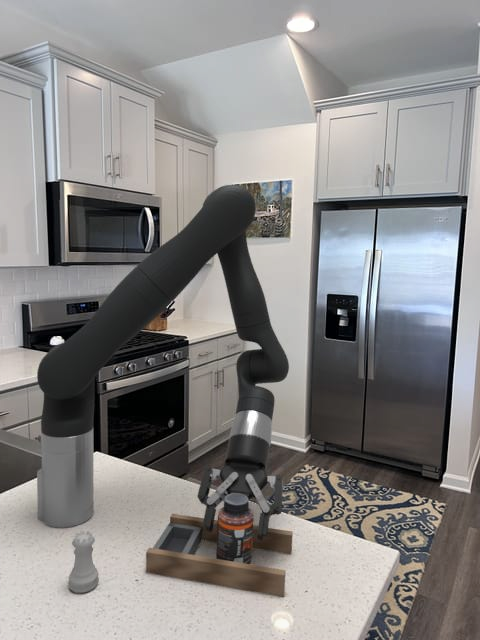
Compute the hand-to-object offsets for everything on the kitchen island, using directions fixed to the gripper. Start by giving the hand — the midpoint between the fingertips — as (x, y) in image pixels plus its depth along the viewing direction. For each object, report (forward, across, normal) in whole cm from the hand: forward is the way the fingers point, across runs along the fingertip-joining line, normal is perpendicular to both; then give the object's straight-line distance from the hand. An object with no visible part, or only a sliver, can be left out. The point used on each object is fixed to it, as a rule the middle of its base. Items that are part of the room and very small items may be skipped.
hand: (234, 534), depth 77 cm
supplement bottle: (+3, 0, +5) cm, 6 cm away
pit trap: (+3, -10, +5) cm, 12 cm away
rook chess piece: (+11, -21, -3) cm, 24 cm away
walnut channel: (+3, -2, +5) cm, 6 cm away
